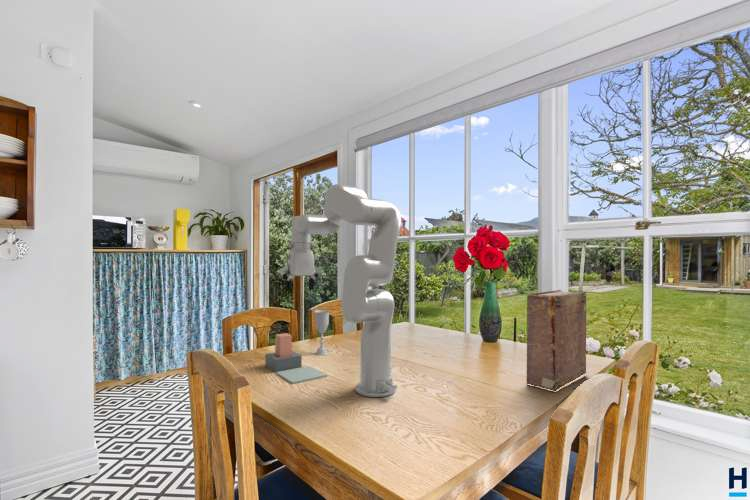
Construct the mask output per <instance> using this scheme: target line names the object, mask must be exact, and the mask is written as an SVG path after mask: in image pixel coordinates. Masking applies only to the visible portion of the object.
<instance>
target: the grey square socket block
mask: <svg viewBox="0 0 750 500" xmlns="http://www.w3.org/2000/svg"><path fill="white" fill-rule="evenodd" d="M302 359H303V358H302V355H301V354H299V353H297V352H295V351H294V350H292V355H291V356H285V357H278V356H276V355H275V352H269V353H265V361H264V363H265V365H264V366H265V367H266V368H268V369H269V370H271V371H273V372H275V373H276V372H280V371H285V370H290V369H295V368H301V367H302Z"/></svg>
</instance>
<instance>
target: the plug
mask: <svg viewBox="0 0 750 500" xmlns="http://www.w3.org/2000/svg"><path fill="white" fill-rule="evenodd" d="M274 335H275V340H274V341H275V342H274V343H275V346H274V347H275V349H274V350H275V352H274V353H275V355H276V356H278V357H285V356H291V355H292V351H293V350H292V347H293V345H292V344H293V343H292V339H293V335H292V334H290V333H287V332H284V333H278V334H274Z"/></svg>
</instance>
